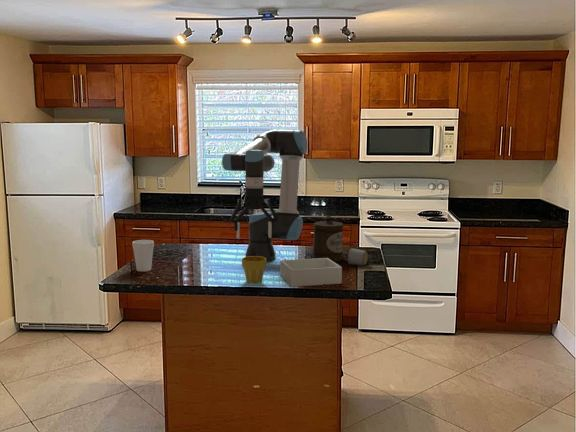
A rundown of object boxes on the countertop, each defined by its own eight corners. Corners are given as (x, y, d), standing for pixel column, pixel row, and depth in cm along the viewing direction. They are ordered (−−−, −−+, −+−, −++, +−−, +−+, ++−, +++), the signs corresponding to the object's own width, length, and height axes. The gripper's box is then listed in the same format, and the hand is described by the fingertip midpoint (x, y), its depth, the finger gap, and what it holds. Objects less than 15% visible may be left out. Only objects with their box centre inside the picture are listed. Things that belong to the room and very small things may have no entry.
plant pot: (247, 285, 223) (247, 262, 222) (238, 279, 232) (238, 257, 231) (270, 282, 228) (270, 259, 226) (260, 276, 237) (260, 255, 235)
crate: (280, 275, 239) (280, 260, 238) (327, 273, 245) (327, 257, 244) (291, 286, 222) (291, 270, 221) (341, 283, 228) (341, 267, 227)
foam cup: (158, 268, 250) (157, 240, 248) (147, 273, 241) (146, 244, 239) (140, 266, 253) (140, 239, 251) (128, 271, 244) (128, 242, 242)
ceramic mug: (363, 267, 257) (364, 251, 256) (347, 265, 260) (347, 249, 259) (369, 263, 267) (370, 247, 266) (353, 261, 270) (354, 246, 269)
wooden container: (333, 263, 264) (335, 218, 261) (307, 259, 272) (308, 216, 269) (347, 257, 277) (348, 215, 273) (321, 254, 284) (322, 212, 281)
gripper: (225, 188, 217) (225, 240, 220) (285, 187, 224) (285, 238, 227) (223, 186, 224) (223, 237, 227) (281, 186, 231) (280, 235, 234)
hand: (254, 237), depth 227 cm, fingers open, 13 cm apart
